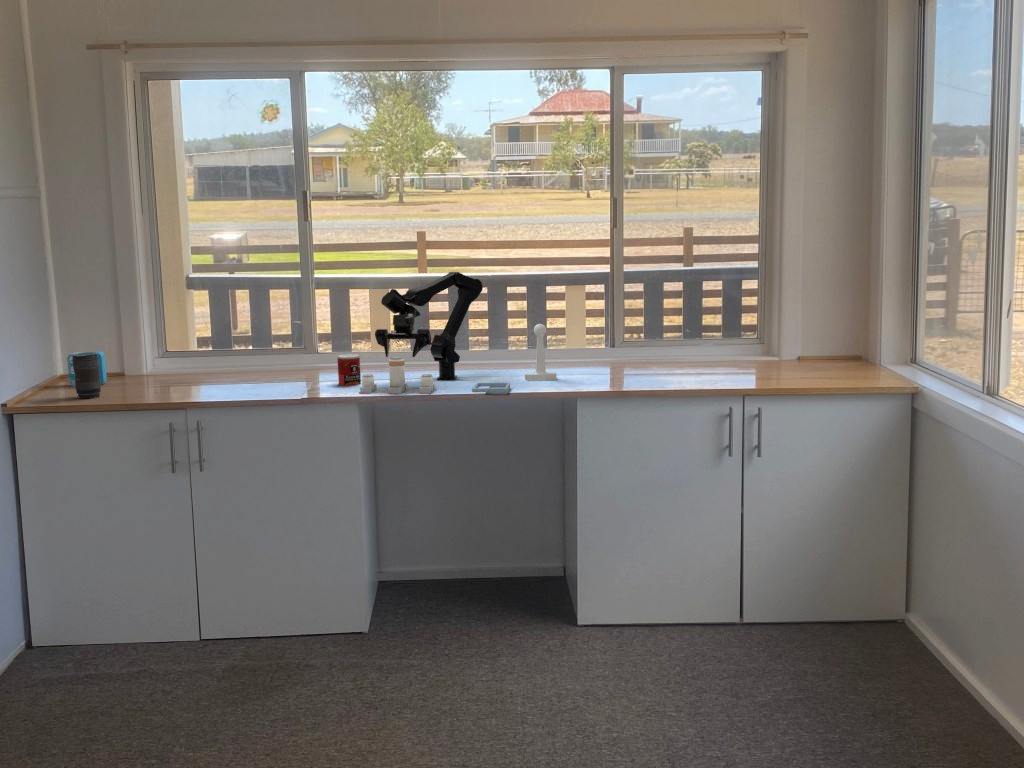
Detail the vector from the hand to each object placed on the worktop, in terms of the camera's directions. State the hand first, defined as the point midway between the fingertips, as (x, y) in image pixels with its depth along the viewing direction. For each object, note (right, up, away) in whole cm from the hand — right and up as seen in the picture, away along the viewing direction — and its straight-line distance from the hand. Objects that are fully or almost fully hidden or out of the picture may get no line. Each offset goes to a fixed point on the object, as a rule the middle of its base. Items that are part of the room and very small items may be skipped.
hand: (399, 356), depth 342 cm
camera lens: (-106, -14, +3) cm, 107 cm away
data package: (-117, -10, +28) cm, 121 cm away
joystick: (+48, -8, +21) cm, 53 cm away
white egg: (-10, -12, -2) cm, 16 cm away
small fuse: (+10, -12, -5) cm, 16 cm away
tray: (+31, -12, -2) cm, 33 cm away
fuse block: (0, -13, -4) cm, 13 cm away
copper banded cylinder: (0, -12, -4) cm, 12 cm away
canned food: (-19, -10, +13) cm, 25 cm away
